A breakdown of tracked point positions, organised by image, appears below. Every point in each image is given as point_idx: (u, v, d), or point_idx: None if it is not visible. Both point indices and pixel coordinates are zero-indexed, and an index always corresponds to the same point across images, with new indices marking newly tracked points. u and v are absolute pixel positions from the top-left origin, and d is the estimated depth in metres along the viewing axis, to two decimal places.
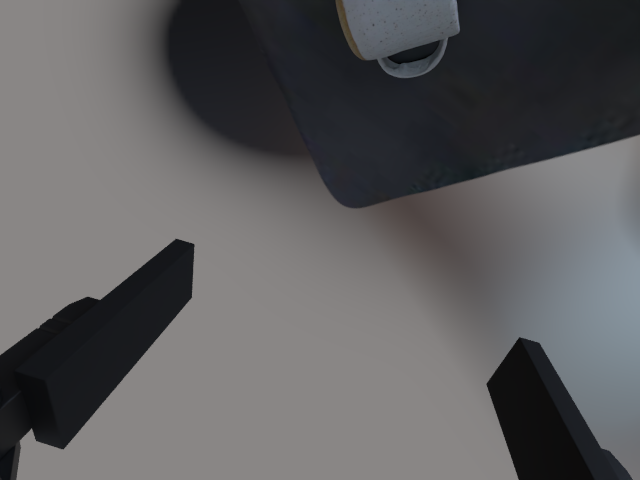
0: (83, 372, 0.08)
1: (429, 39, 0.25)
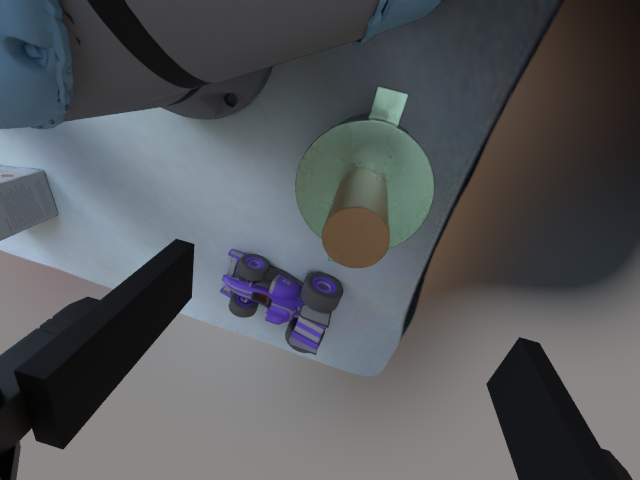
0: (83, 372, 0.08)
1: None
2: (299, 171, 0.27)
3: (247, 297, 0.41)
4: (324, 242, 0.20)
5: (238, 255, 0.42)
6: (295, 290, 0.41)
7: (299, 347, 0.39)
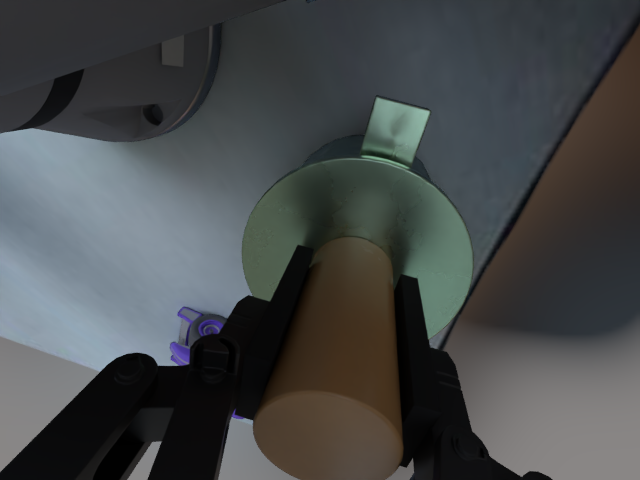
0: (275, 358, 0.10)
1: None
2: (246, 237, 0.16)
3: None
4: (259, 442, 0.09)
5: (190, 316, 0.31)
6: None
7: None
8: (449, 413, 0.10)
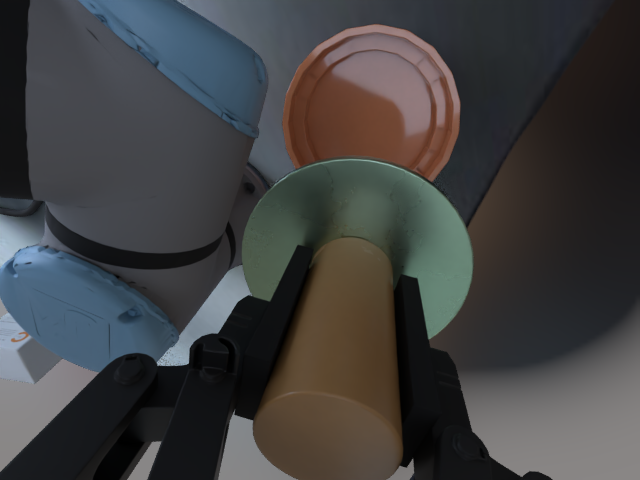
0: (275, 358, 0.10)
1: None
2: (246, 237, 0.16)
3: None
4: (259, 443, 0.09)
5: None
6: None
7: None
8: (449, 413, 0.10)
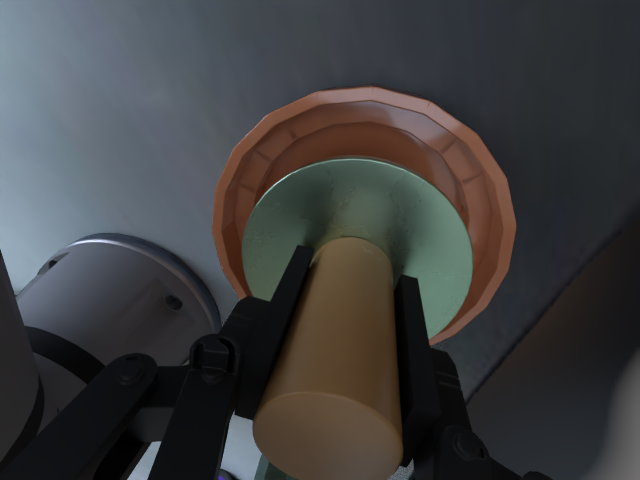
0: (275, 358, 0.10)
1: None
2: (246, 237, 0.16)
3: None
4: (259, 443, 0.09)
5: None
6: None
7: None
8: (449, 413, 0.10)
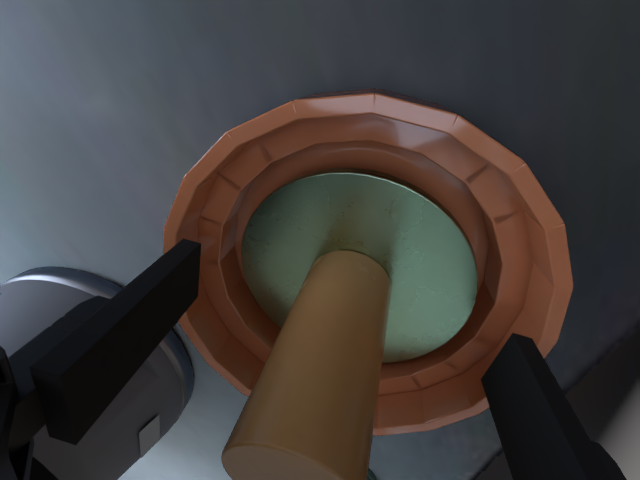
0: (94, 370, 0.08)
1: None
2: (244, 243, 0.16)
3: None
4: (229, 473, 0.09)
5: None
6: None
7: None
8: None
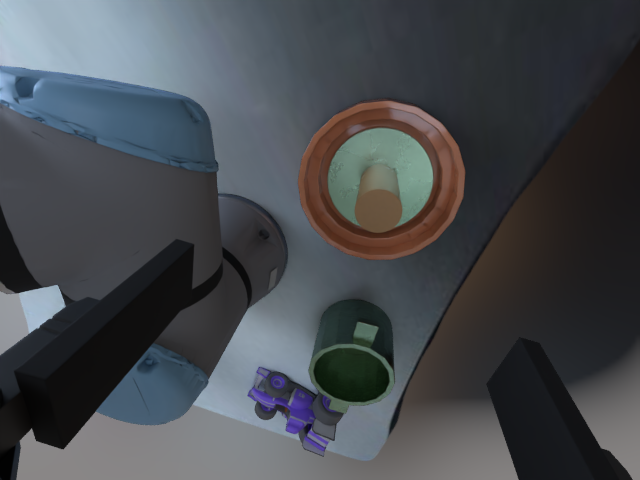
0: (82, 372, 0.08)
1: None
2: (330, 166, 0.36)
3: (270, 407, 0.53)
4: (356, 214, 0.28)
5: (264, 373, 0.53)
6: (308, 402, 0.53)
7: (311, 450, 0.51)
8: None
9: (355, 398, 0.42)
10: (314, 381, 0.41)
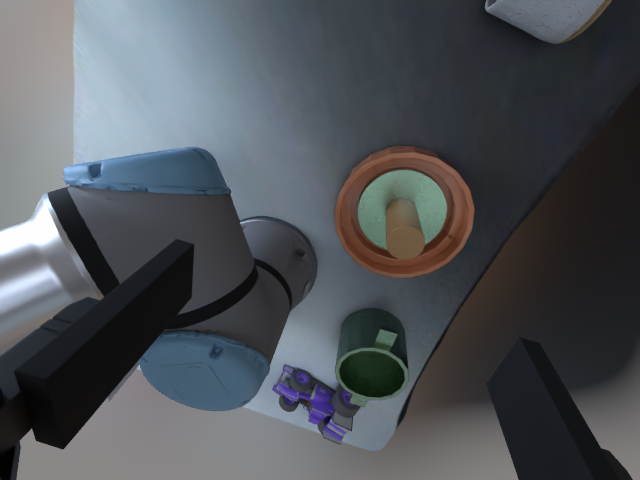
0: (82, 373, 0.08)
1: None
2: (361, 199, 0.42)
3: (294, 400, 0.60)
4: (387, 244, 0.35)
5: (289, 370, 0.60)
6: (328, 397, 0.60)
7: (329, 439, 0.58)
8: None
9: (373, 393, 0.49)
10: (339, 378, 0.48)
